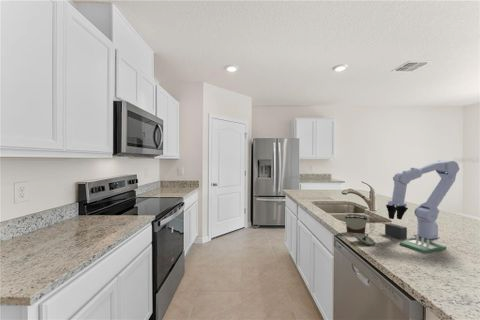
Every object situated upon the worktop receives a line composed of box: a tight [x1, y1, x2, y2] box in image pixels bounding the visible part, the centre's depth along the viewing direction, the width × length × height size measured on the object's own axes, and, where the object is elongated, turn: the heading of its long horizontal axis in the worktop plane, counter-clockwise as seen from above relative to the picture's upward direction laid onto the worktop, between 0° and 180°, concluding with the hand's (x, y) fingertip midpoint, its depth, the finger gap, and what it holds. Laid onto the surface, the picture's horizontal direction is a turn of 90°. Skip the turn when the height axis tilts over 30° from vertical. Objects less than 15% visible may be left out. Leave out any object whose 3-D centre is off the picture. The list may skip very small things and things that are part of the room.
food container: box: [344, 213, 369, 235], centre depth 144 cm, size 12×6×10 cm, turn 74°
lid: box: [353, 233, 376, 247], centre depth 126 cm, size 11×10×5 cm
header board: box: [399, 236, 447, 254], centre depth 120 cm, size 15×12×4 cm
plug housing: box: [382, 222, 408, 240], centre depth 137 cm, size 4×12×6 cm, turn 20°
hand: (395, 218), depth 136 cm, fingers open, 7 cm apart
